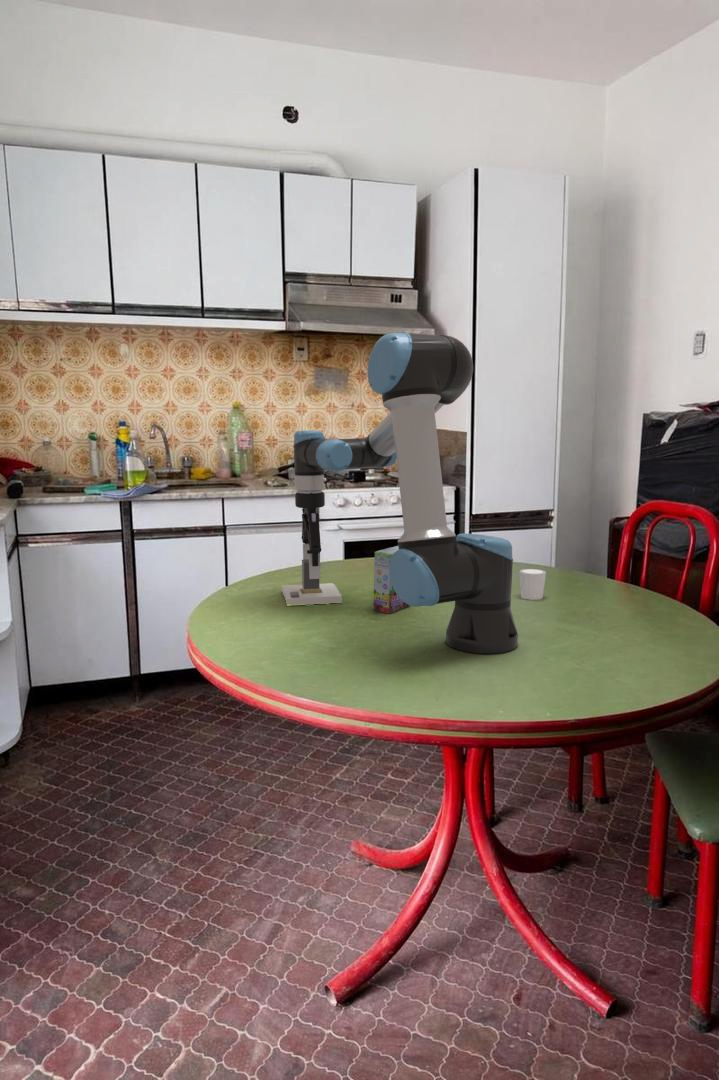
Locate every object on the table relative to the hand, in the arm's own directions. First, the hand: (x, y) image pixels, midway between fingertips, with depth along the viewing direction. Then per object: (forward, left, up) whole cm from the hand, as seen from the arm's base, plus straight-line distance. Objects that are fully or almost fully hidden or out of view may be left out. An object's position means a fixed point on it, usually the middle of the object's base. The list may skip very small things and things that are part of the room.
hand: (311, 573), depth 197 cm
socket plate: (0, 0, -7) cm, 7 cm away
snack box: (-10, -23, -7) cm, 26 cm away
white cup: (-10, -57, -7) cm, 58 cm away
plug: (0, 0, -7) cm, 7 cm away
